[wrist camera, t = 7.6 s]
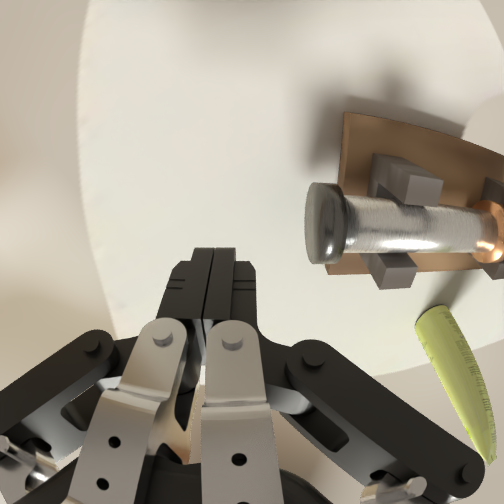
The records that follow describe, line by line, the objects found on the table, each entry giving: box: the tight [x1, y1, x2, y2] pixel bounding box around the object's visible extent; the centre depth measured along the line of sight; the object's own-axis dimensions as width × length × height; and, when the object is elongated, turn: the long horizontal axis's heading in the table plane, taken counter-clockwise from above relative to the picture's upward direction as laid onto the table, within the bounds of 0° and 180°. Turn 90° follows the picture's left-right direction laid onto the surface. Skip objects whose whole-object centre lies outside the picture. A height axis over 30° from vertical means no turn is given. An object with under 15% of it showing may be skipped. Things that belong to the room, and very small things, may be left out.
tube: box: [415, 305, 497, 467], centre depth 18 cm, size 6×5×20 cm
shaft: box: [305, 183, 504, 264], centre depth 15 cm, size 5×19×5 cm, turn 90°
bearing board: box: [325, 112, 504, 290], centre depth 15 cm, size 12×20×7 cm, turn 90°
